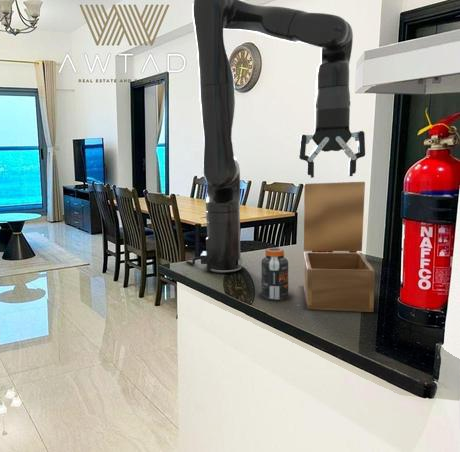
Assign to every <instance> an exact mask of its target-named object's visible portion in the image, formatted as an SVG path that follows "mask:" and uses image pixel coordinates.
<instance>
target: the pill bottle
mask: <svg viewBox="0 0 460 452" xmlns="http://www.w3.org/2000/svg"><path fill="white" fill-rule="evenodd" d="M261 296H262V297H263V298H265V299H268V300H277V301H278V300H284V299H287V298H288V297H289V260H288V259H287V258H286V257H285V250H284V249H283V248H281V247H268V248H266V249H265V257H263V258H261Z"/></svg>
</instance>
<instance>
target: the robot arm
mask: <svg viewBox="0 0 460 452" xmlns="http://www.w3.org/2000/svg"><path fill="white" fill-rule="evenodd" d="M192 19H193V26H194V32H195V39H196V46H197V61H198V65H197V66H198V77H199V79H198V80H199V83H198V84H199V85H198V86H199V103H200V112H201V122H202V128H203V142H204V143H203V161H202V173H203V177H204V180H205V181H206V187H207V188H206V189H207V191H206V192H207V194H206V201H205V213H206V238H205V250H203V251H202V252H201V254H200V256H195V257H193V258H192V260H191V261H189V260H186V262H185V263H186V264H188V265H191V266H192V265H195V264H196V261H197V260H200V265H206V272H207V273H208V272H210V273H215V274H233V273H238V272H240V271H241V270H242V264H243V258H242V257H241V256H242V255H241V252H242V251H241V218H240V217H241V214H240V212H241V211H240V203H241V201H240V200H241V170H240V169H241V168H240V163H239V161H238V160H237V158H236V156H235V155H234V146H233V125H234V117H235V107H236V89H235V88H236V87H235V77H234V72H233V68H232V65H231V61H230V59H229V56H228V53H227V50H226V47H225V40H224V30H236V31H237V30H238V31H245V32H246V31H247V32H252V33H254V34H255V33H256V34H259V35H262V36H266V37H268V38H272V39H277V40H281V41H286V42H289V43H296V44H299V43H302V44H306V45H311V46H314V47H318V48H320V63H319V65H318V66H317V68H316V75H315V76H316V77H315V78H316V80H315V97H314V132H313V134H301V135H300V140H299V141H300V142H299V154H298V155H299V156H298V157H299V159H300V160H301V161H305V162H306V166H307V168H306V173H307V176H309V177H310V178H311V179H312V178H313V179H314V178H315V162H314V160H315V158H316V157H317V156H318V155H319V154H320V153H321V151H322V152H331V151H333V152H340V151H342V152H343V153H345V155H346V156H347V158H349V160H348V167H347V168H348V170H347V171H348V172H347V174H348V175H347V176H348V177H353V176H354V174H356V173H357V160H358V159H361V158H364V157H365V156H366V137H365V136H366V135H365V131H363V130H359V131H355V132H351V129H350V117H351V115H350V114H351V93H350V63H351V57H352V49H353V41H354V39H353V38H354V34H353V28H352V26H351V24H350V23H349V22H348V21H347V20H345V18H344V17H341V16H339V15H335V14H331V13H323V12H308V11H306V10H305V11H304V10H300V9H297V8H296V9H295V8H289V7H285V6H276V5H275V6H273V5H257V4H253V3H248V2H245V1H243V0H193V3H192ZM351 138H353V140H354V141H355V142H357V143H356V144H357V152H356V153H354V151H353V150H352V149H351V148H350V146H349V145H348V144H347V143H349V141H350V140H351ZM311 140H312V141H313V142H314V143H315V145H316V146H315V147H314V149H313V150H312V151H311V152H310V154H309V155H306V151H307V145H308V144H310V141H311Z"/></svg>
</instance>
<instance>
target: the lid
mask: <svg viewBox="0 0 460 452" xmlns="http://www.w3.org/2000/svg"><path fill="white" fill-rule="evenodd" d="M365 191H366V182H365V181H346V182H345V181H344V182H320V183H317V182H316V183H315V182H313V183H304V184H303V251H304V252H312V251H333V252H349V251H357V252H363V238H364V237H363V233H364V212H365Z"/></svg>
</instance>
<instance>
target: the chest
mask: <svg viewBox="0 0 460 452" xmlns="http://www.w3.org/2000/svg"><path fill="white" fill-rule="evenodd" d="M375 273H376V271H375V269H374V268H373V266H372V264H370V261H368V260H367V258H366V257H365V255H364V254H363V253H362V252H356V253H349V252H337V251H333V252H312V251H304V252H303V290H304V297H305V302H306V308H307V310H316V311H317V310H319V311H341V312H359V313H360V312H361V313H363V312H365V313H374V308H375V277H376V276H375Z"/></svg>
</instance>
